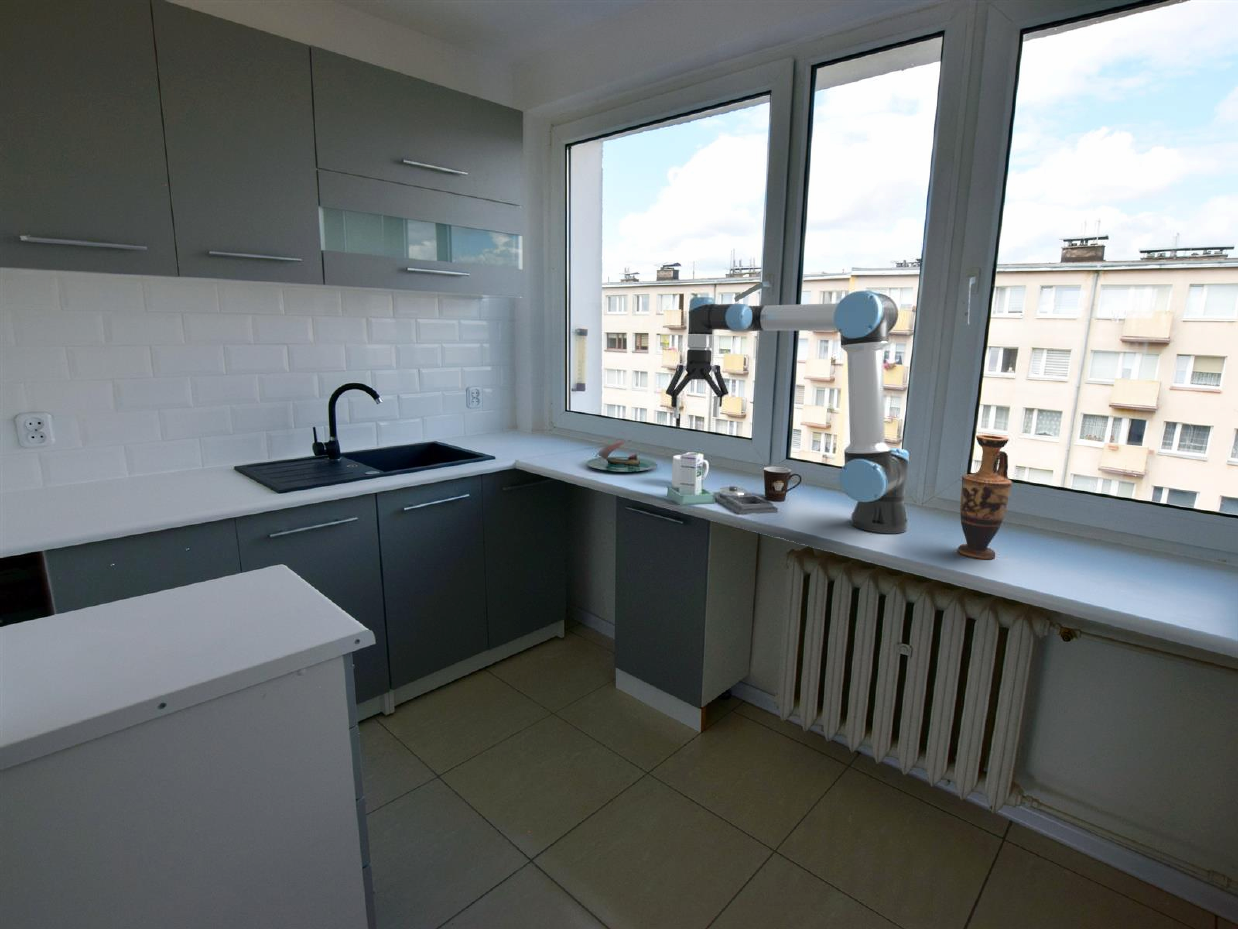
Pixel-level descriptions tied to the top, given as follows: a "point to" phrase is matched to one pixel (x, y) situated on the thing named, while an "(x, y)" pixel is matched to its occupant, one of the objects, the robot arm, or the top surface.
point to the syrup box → (691, 473)
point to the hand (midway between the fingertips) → (696, 417)
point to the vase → (985, 498)
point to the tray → (691, 497)
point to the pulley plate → (743, 501)
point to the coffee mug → (777, 483)
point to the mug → (677, 471)
